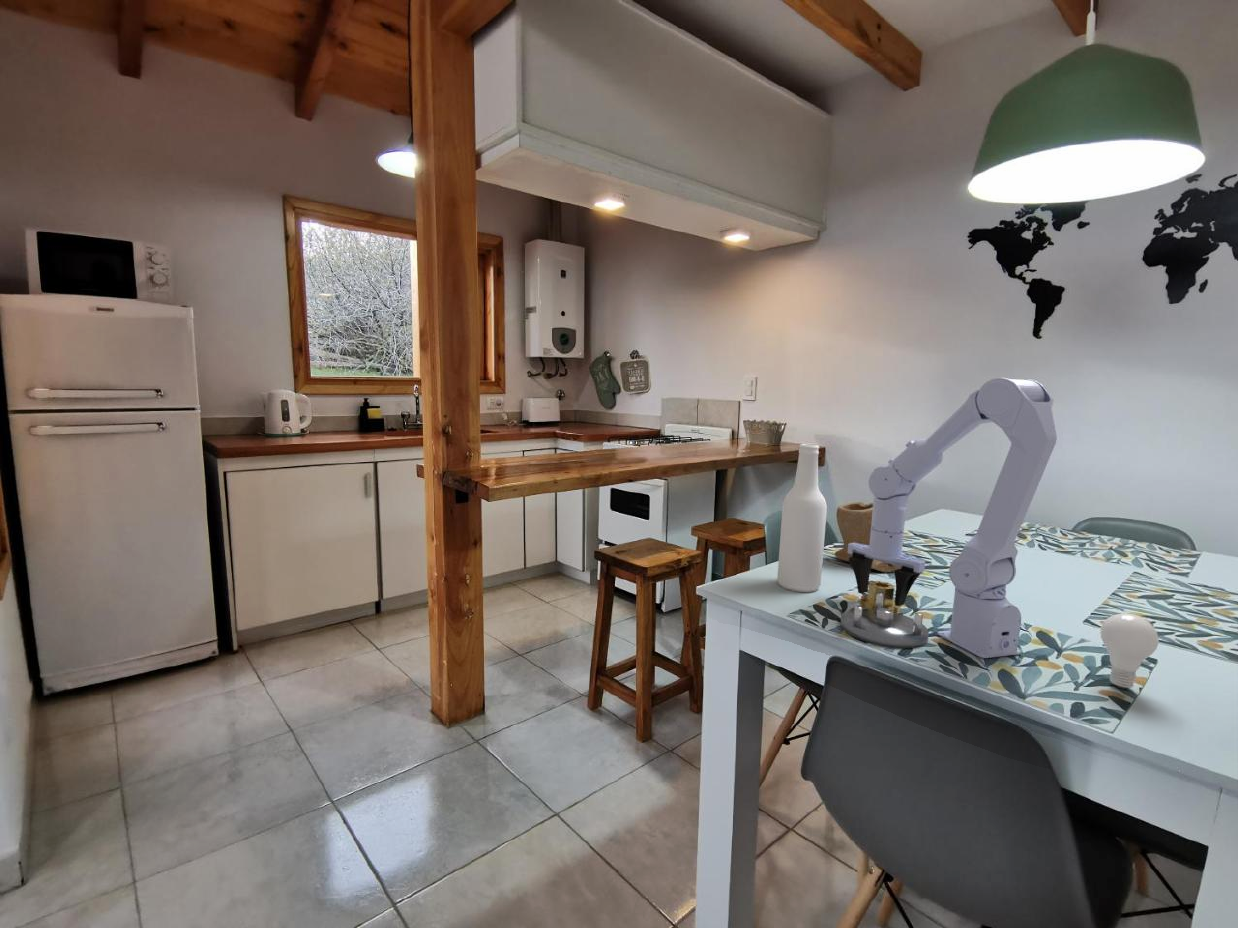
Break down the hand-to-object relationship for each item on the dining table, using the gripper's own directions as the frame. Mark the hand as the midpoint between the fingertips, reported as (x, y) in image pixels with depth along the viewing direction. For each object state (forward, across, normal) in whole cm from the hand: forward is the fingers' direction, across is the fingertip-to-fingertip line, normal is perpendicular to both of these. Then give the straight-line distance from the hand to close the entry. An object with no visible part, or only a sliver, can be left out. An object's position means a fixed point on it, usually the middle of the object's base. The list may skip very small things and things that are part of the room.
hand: (880, 598), depth 116 cm
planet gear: (+2, 0, 0) cm, 2 cm away
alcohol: (+2, +16, +4) cm, 17 cm away
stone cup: (+2, +17, -22) cm, 28 cm away
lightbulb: (+2, -37, -2) cm, 37 cm away
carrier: (+2, -6, +10) cm, 12 cm away
